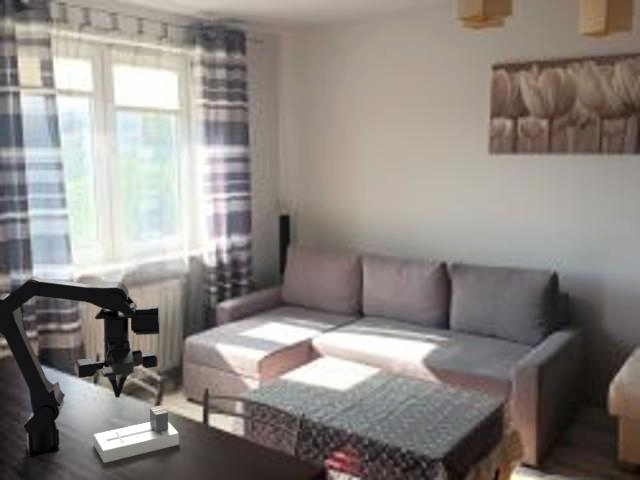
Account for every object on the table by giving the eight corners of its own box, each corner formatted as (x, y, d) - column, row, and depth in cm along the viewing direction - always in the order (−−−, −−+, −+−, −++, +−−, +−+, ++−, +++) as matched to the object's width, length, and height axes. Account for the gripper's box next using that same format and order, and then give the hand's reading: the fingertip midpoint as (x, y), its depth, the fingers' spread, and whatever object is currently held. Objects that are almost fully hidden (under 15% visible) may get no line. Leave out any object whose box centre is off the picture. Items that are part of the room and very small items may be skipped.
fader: (156, 432, 156) (155, 414, 156) (150, 424, 161) (149, 407, 160) (168, 429, 158) (168, 411, 157) (162, 422, 162) (161, 405, 162)
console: (103, 462, 148) (103, 450, 147) (94, 445, 156) (93, 433, 156) (178, 444, 157) (178, 432, 157) (165, 429, 166) (165, 417, 165)
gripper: (82, 349, 143) (83, 416, 145) (164, 339, 153) (164, 401, 155) (73, 336, 153) (74, 399, 155) (151, 327, 162) (151, 386, 164)
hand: (117, 397), depth 157 cm, fingers closed
